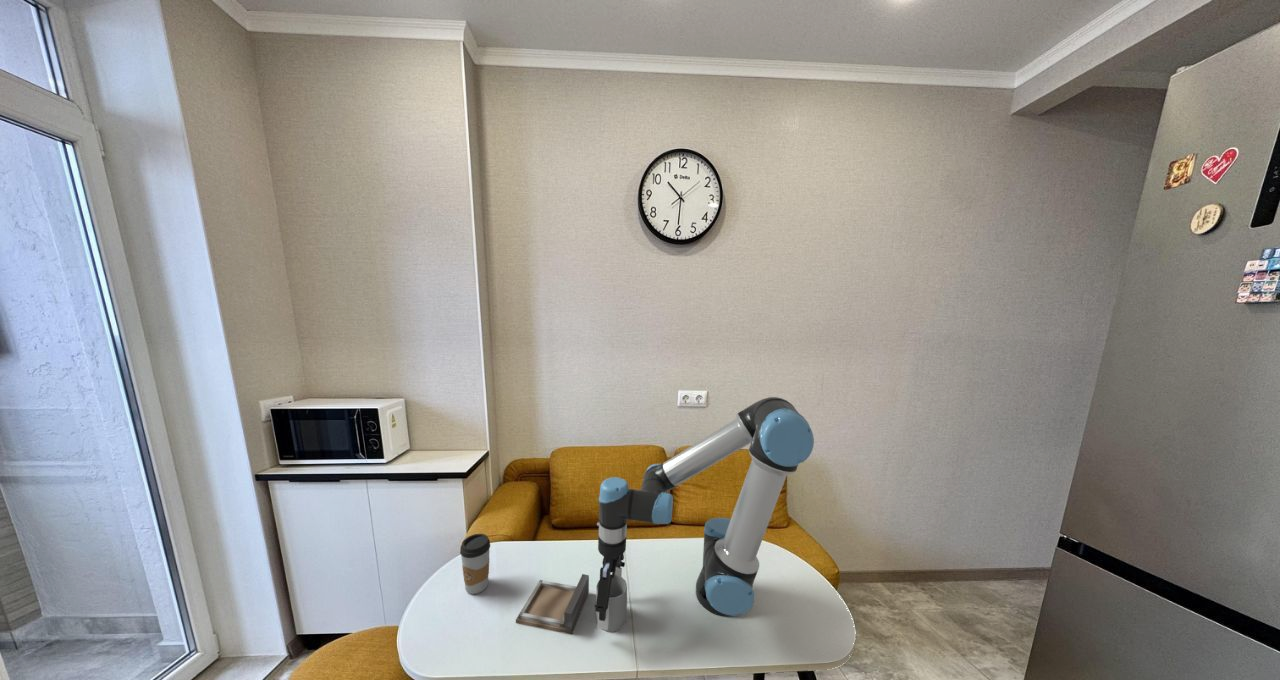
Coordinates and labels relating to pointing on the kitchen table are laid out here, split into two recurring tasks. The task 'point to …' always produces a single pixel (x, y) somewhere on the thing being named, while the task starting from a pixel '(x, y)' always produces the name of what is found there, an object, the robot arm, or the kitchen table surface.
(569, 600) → the brown flat tray-like piece
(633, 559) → the kitchen table surface
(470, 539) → the coffee cup
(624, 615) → the cup
